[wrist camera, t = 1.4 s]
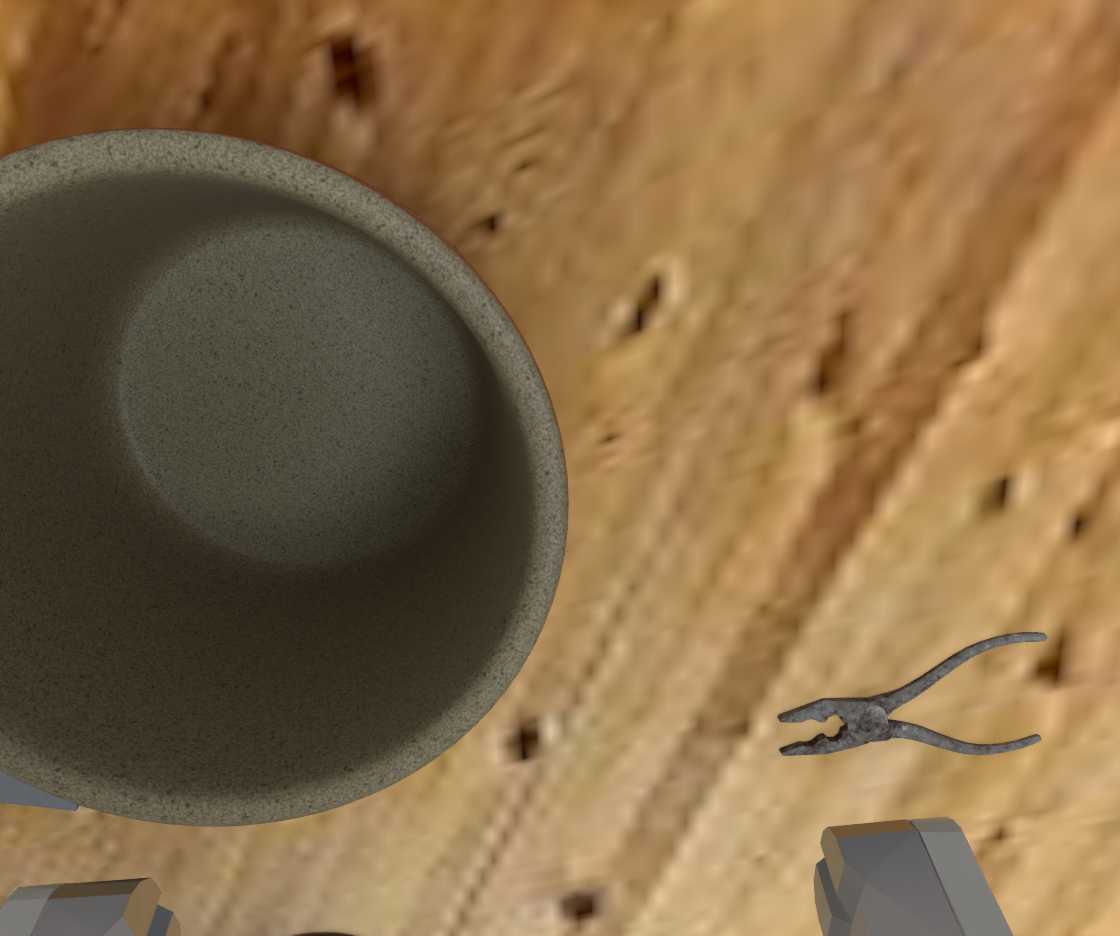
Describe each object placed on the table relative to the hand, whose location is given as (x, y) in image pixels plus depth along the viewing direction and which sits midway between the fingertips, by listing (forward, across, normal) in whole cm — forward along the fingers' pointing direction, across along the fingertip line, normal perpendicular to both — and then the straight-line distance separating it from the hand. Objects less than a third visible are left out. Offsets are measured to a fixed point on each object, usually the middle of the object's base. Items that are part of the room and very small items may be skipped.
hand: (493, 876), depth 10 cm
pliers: (+33, +26, -40) cm, 58 cm away
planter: (+38, -12, -12) cm, 42 cm away
